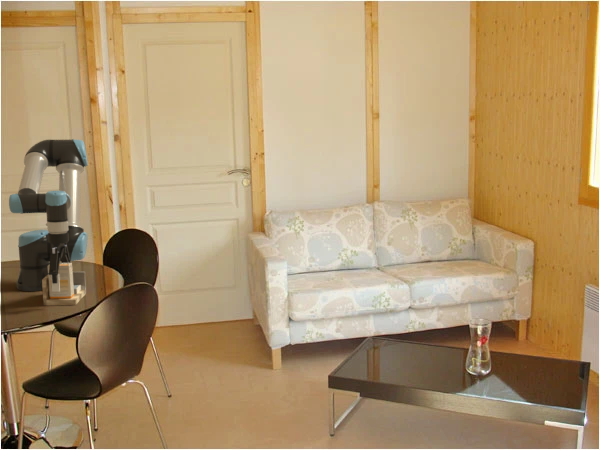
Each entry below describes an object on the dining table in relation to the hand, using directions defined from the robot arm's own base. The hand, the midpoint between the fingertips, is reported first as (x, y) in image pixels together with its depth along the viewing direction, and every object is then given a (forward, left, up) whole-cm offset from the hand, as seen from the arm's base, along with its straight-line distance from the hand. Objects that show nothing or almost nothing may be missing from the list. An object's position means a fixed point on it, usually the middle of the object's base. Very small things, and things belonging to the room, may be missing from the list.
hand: (61, 286), depth 267 cm
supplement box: (0, 0, -4) cm, 4 cm away
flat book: (-8, +1, -4) cm, 9 cm away
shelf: (-4, 0, -6) cm, 7 cm away
